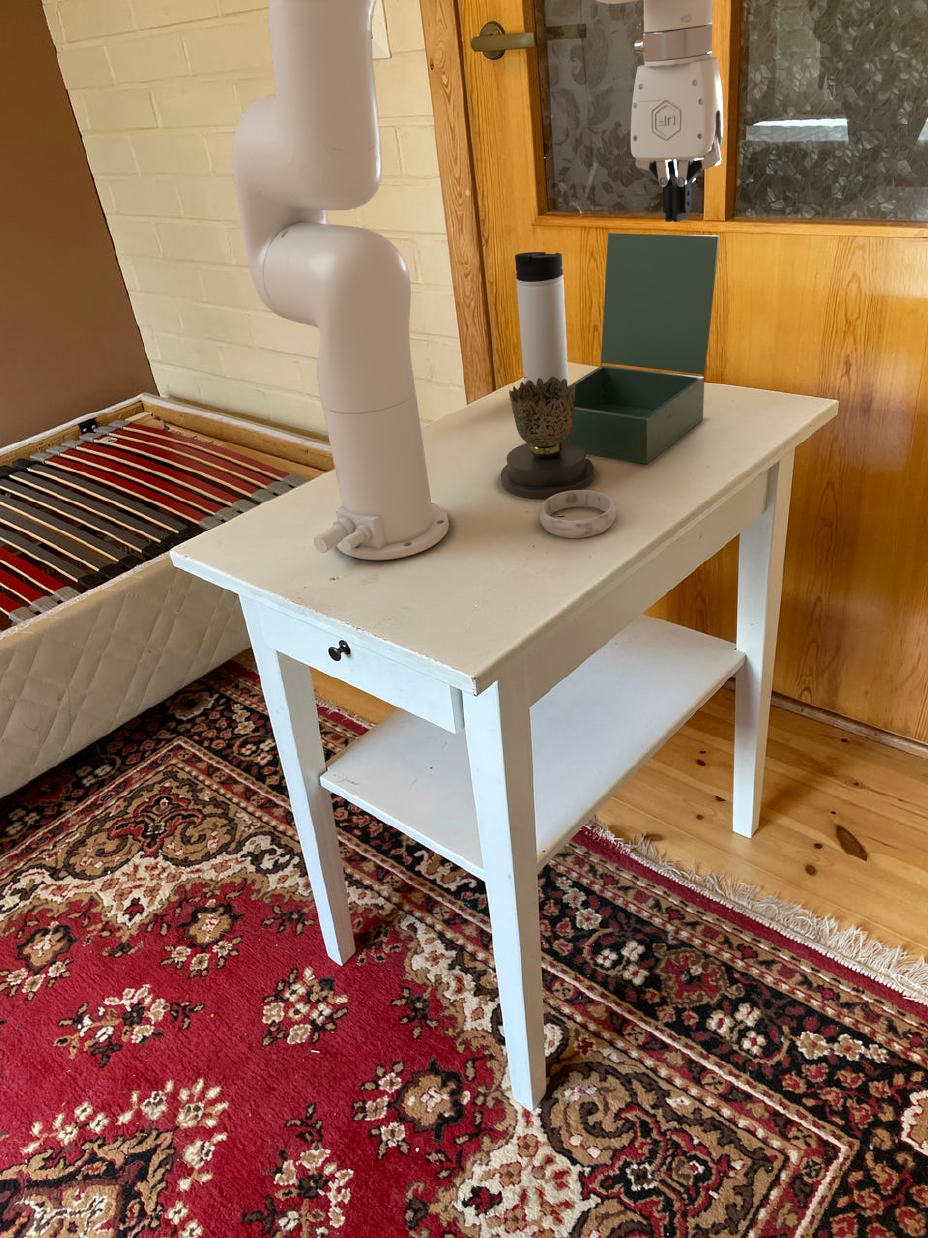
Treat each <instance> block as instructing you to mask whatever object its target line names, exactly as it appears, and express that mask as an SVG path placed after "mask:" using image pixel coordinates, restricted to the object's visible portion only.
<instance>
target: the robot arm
mask: <svg viewBox="0 0 928 1238" xmlns="http://www.w3.org/2000/svg"><path fill="white" fill-rule="evenodd" d="M595 1H596V2H598V3H602V4H607V5H617V4H626V3H627V4H628V3H634V2H639V1H640V0H595ZM376 3H377V0H269V1H268V33H269V34H268V35H269V43H270V49H271V50H270V53H271V61H272V62H271V64H272V75H273V82H274V94H271V95H267V96H264V97H262V98H259V99H258V100H255V102H253V103H252V104H251V105H250V106H248V107H247V109H246V110H245V111H243V113H242V115H241V117H240V118H239V121H238V123H237V125H236V128H235V131H234V135H233V142H232V150H231V164H232V165H231V166H232V174H233V175H232V176H233V181H234V188H235V194H236V200H237V206H238V210H239V212H238V213H239V217H240V223H241V228H242V234H243V239H244V245H245V250H246V257H247V261H248V266H249V270H250V275H251V278H252V281H253V285H254V287H255V290H256V292H257V294H258V296H259V297H260V300H261V301H262V302H263V304H264V305H265V306H266V307H267V308H268V309H269V310H270V311H271V312H272V313H274V314H275V315H277V316H279V317H281V318H283V319H285V320H288V321H291V322H295V323H299V324H303V325H307V326H311V327H314V328H317V329H319V335H320V336H319V337H320V339H319V348H318V355H317V364H316V378H317V386H318V393H319V397H320V402H321V403H320V404H321V406H322V410H323V411H322V412H323V415H324V421H325V425H326V431H327V436H328V440H329V446H330V451H331V456H332V461H333V466H334V471H335V476H336V481H337V486H338V491H339V496H340V501H341V505H342V506H339V507H338V508H336V509H335V514H336V520H335V521H334V522H333V524H332V527H330V528H328V529H326V530H324V531H322V532H321V533H320V534H319V533H318V534H317V535H316V536H315V537H313V544H314V547H315V548H316V550H317V551H318V552H319V553H322V554H325V553H328V552H329V551H331V550H332V549H334V548H335V547H337V549H338V550H339V551H340V552H341V553H343V554H344V555H347V556H349V557H351V558H356V559H359V560H365V561H385V560H386V561H387V560H395V559H402V558H406V557H409V556H410V557H411V556H413V555H416V554H419V553H421V552H424V551H426V550H428V549H429V548H432V547H433V546H435V545H437V543H439V542H440V541H441V540H442V539H443V538H444V537H445V536H446V534H447V533H448V532H449V527H450V523H449V516H448V514H447V512H446V510H444V508H442V507H441V506H440V505H438V504H436V503H433V502H432V498H431V497H432V496H431V489H430V483H429V477H428V469H427V463H426V454H425V447H424V440H423V434H422V427H421V419H420V413H419V405H418V399H417V392H416V387H415V386H416V385H415V380H414V379H415V378H414V371H413V363H412V354H411V343H410V339H411V338H410V320H411V319H410V318H411V301H412V300H411V297H412V287H411V276H410V272H409V268H408V265H407V263H406V260H405V259H404V257H403V254H402V253H401V252H400V250H399V249H398V248H397V247H396V245H395V244H394V243H393V242H392V241H390V240H389V239H388V238H386V237H385V236H383V235H382V234H380V233H378V232H375V231H373V230H370V229H367V228H363V227H359V226H353V225H343V224H332V223H329V216H328V211H350V210H355V209H357V208H360V207H362V206H364V205H366V204H368V202H370V201H371V200H372V199H373V198H374V196H375V195H376V194H377V192H378V190H379V188H380V185H381V182H382V176H383V154H382V153H383V152H382V141H381V140H382V139H381V132H380V131H381V129H380V122H379V121H380V120H379V109H378V101H377V90H376V81H375V80H376V79H375V69H374V59H373V58H374V57H373V56H374V55H373V36H372V34H373V18H374V12H375V7H376ZM713 16H714V0H643V32H644V33H642V38H641V39H636V40H635V42H634V52H635V54H641V55H642V60H644V61H643V63H644V64H641V65H638V66H637V69H636V72H635V73H636V74H635V78H634V79H635V80H634V87H633V94H632V103H631V116H630V117H631V119H630V152H631V155H632V157H633V158H635V162H634V164H635V167H636V168H638V169H640V170H644V171H646V172H647V171H648V172H650V173H652V175H653V176H654V177H655V178H656V179H657V181H658V185H659V186H660V187H662V213H664V215H665V216H664V220H665V222H666V223H667V222H668V223H671V222H674V223H679V222H681V221H683V220H685V219H687V218H688V217H689V214H690V212H691V210H692V183H694V182H695V181H696V178H697V177H698V176H699V175H700V173H702V171H704V170H707V169H711V168H714V167H716V166H718V165H720V164H721V162H722V156H721V149H720V148H721V147H722V143H723V136H724V109H723V91H722V82H721V75H720V68H719V62H718V57H717V56H715V57H713V21H714V17H713ZM677 161H678V165H677Z"/></svg>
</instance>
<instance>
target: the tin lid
mask: <svg viewBox="0 0 928 1238" xmlns="http://www.w3.org/2000/svg"><path fill="white" fill-rule="evenodd" d="M719 245H720V235H701V234H699V235H698V234H697V235H696V234H661V233H660V234H659V233H626V232H625V233H623V232H622V233H621V232H608V233H607V245H606V262H605V263H606V265H605V281H604V283H605V284H604V300H603V314H602V315H603V317H602V332H601V333H602V334H601V335H602V337H601V351H600V353H601V354H600V363H601V364H608V365H609V364H610V365H615V366H616V365H618V366H624V367H625V366H626V367H633V368H635V367H636V368H644V369H650V370H651V369H652V370H660V371H671V372H678V373H686V374H696V375H706V371H707V362H708V353H709V352H708V351H709V342H710V333H711V323H712V313H713V303H714V293H715V286H716V285H715V282H716V274H717V266H718V265H717V264H718V255H719Z"/></svg>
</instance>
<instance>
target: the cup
mask: <svg viewBox="0 0 928 1238" xmlns="http://www.w3.org/2000/svg"><path fill="white" fill-rule="evenodd" d="M544 383H545V384H544ZM544 383H543V381H542V379H540V378H538V380H537V383H536V385H535V384H534V383H533V382H532V381H530V380H528V381H527V382H526V383H525V384H524V381H521V382H520V384H519V387H518V389H517V388H516V386H515V385H513V387H512V390H510V389H509V390H508V394H509V395H508V396H509V399H510V404H511V409H512V414H513V418H514V423H515V426H516V430H517V433H518V434H519V436H520V438H521V439H522V440H523V441H524V442H525V443H528V444H530V445H531V447H530V450H531V453H532V454H533V455H534V456H535V457H537V458H542V459H547V458H553V457H555V456H557V455H559V454H560V452H561V450H562V444H561V442H562V441H564V440H565V439H566V438H567V437H568V435H569V434H570V432H571V429H572V425H573V419H574V407H575V391H576V387H575V383H574V382H573V383H574V384H573V383H571V384H572V389H571V387H569V386H568V385H567V380H566V379H563V380H562V381H561V382H560V380H559V379H557V378H555V377H551V378H550V379H549V380H548V381H547V382H544ZM535 386H536V387H535Z"/></svg>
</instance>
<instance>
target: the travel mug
mask: <svg viewBox="0 0 928 1238" xmlns="http://www.w3.org/2000/svg"><path fill="white" fill-rule="evenodd" d="M514 262H515V271H516V273H515V275H516V277H515V282H516V293H517V295H516V296H517V307H518V320H519V321H518V322H519V333H520V334H519V335H520V346H521V358H522V359H521V360H522V371H523V374H522V375H523V383H524V384H525V383H526V382H527V381H528V380H530V381H532V382H533V383H534V384H535V385H536V383H537V380H538V378H540V379H542V381H543V383H544V382H547V381H548V380H549V379H550V378H551V377H555V378H557V379H559V380H560V382H561V381H562V380H563V379H566V380H567V385H568V386H569V385H570V384H569V381H570V380H569V364H568V363H569V361H568V342H567V341H568V339H567V324H566V323H567V322H566V302H565V283H564V282H565V281H564V272H563V254H562V253H560V252H555V253H547V252H546V251H530V252H522V253H520V252H519V253H516V254H515V255H514ZM544 384H545V383H544ZM535 387H536V386H535Z"/></svg>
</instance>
